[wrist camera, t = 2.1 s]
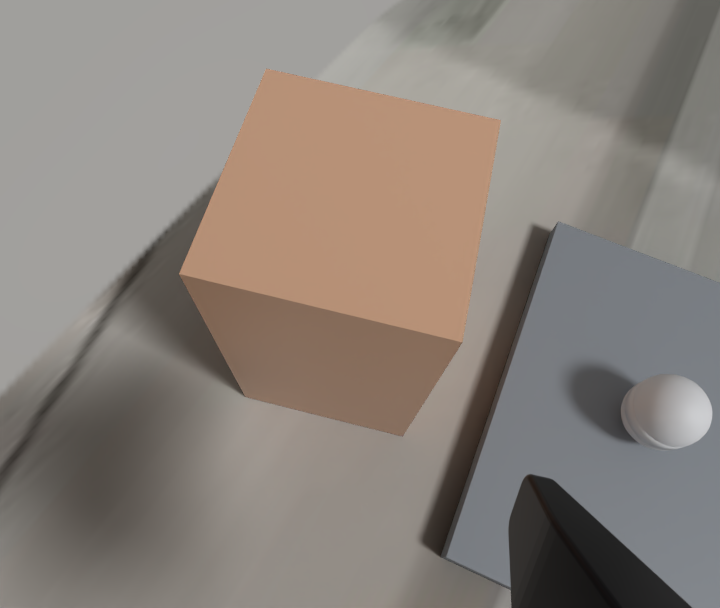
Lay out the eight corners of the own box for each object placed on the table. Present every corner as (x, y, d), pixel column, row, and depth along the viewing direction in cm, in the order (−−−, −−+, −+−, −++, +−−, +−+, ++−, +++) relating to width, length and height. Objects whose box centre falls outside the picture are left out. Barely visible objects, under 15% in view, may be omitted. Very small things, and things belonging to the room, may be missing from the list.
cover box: (402, 436, 20) (462, 342, 11) (245, 396, 21) (178, 274, 12) (432, 293, 23) (500, 120, 14) (291, 259, 23) (266, 68, 14)
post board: (735, 695, 18) (842, 733, 14) (440, 556, 19) (467, 557, 15) (780, 322, 23) (865, 279, 19) (549, 233, 24) (588, 177, 21)
